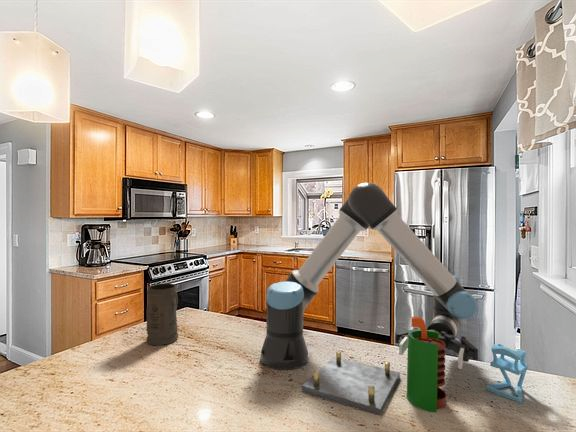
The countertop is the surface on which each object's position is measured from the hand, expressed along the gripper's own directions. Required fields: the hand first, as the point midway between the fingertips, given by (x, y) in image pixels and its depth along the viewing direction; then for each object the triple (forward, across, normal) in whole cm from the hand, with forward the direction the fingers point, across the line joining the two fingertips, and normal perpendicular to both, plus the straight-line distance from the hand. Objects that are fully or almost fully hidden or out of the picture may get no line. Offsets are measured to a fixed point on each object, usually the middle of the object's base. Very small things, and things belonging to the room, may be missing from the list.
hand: (428, 355), depth 80 cm
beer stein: (+10, +89, -11) cm, 90 cm away
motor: (0, 0, -11) cm, 11 cm away
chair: (-16, -17, -11) cm, 26 cm away
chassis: (+3, +18, -11) cm, 22 cm away
